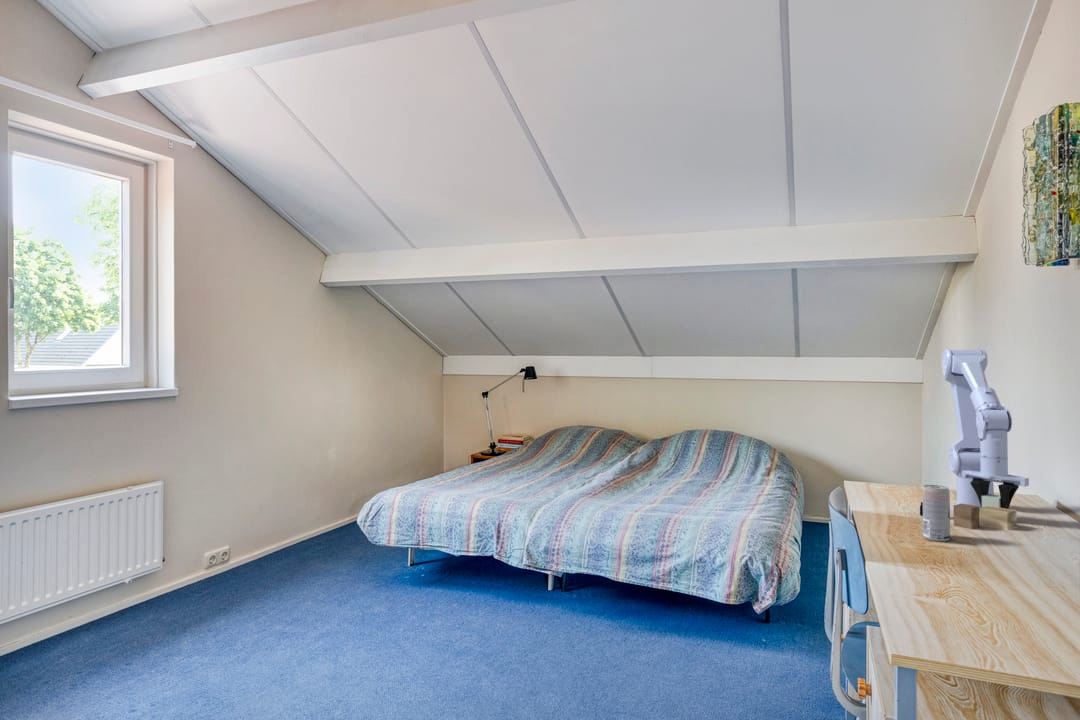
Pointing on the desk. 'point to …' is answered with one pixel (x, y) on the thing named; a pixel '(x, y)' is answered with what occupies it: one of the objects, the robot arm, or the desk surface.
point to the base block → (998, 517)
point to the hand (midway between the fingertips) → (994, 510)
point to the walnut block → (966, 516)
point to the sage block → (991, 500)
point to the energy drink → (936, 513)
